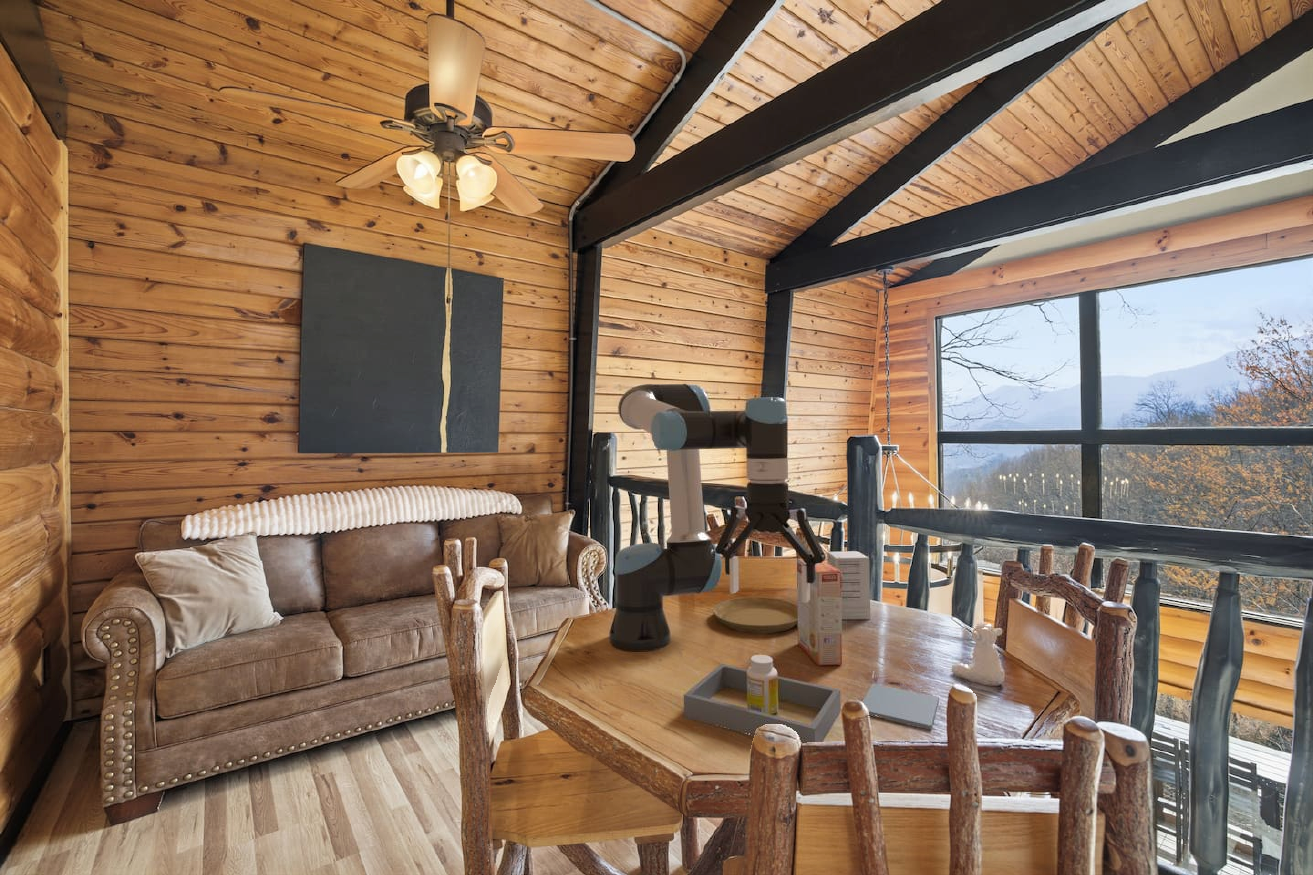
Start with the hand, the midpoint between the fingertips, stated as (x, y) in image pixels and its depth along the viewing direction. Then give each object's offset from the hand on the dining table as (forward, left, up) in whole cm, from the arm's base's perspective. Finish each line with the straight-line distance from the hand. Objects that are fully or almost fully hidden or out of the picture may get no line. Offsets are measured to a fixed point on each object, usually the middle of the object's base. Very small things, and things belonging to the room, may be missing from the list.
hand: (769, 596), depth 106 cm
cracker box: (0, +31, -21) cm, 38 cm away
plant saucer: (-21, +46, -22) cm, 55 cm away
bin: (-1, -2, -21) cm, 21 cm away
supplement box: (-1, +63, -21) cm, 66 cm away
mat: (+20, +13, -21) cm, 32 cm away
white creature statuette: (+33, +34, -21) cm, 52 cm away
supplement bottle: (-1, -2, -21) cm, 22 cm away
